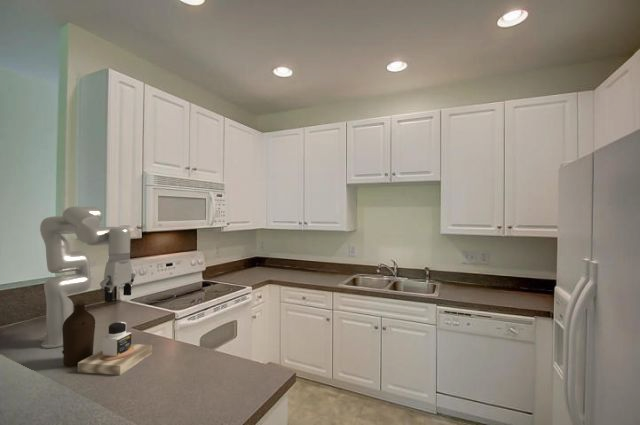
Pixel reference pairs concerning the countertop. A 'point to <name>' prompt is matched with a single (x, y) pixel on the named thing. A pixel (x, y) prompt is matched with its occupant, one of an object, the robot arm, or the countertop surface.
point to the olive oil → (78, 335)
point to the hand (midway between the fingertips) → (118, 298)
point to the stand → (114, 361)
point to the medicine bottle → (117, 340)
